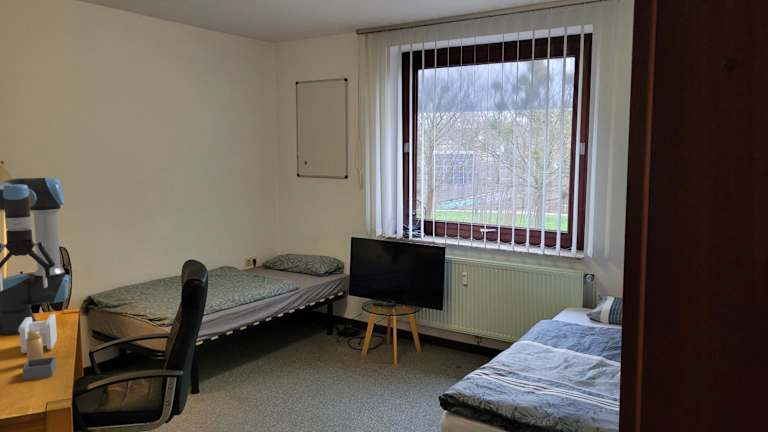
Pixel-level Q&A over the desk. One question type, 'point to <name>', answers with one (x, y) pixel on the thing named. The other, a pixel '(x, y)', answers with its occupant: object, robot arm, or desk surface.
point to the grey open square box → (39, 368)
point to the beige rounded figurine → (34, 345)
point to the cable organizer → (45, 328)
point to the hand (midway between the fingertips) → (23, 288)
